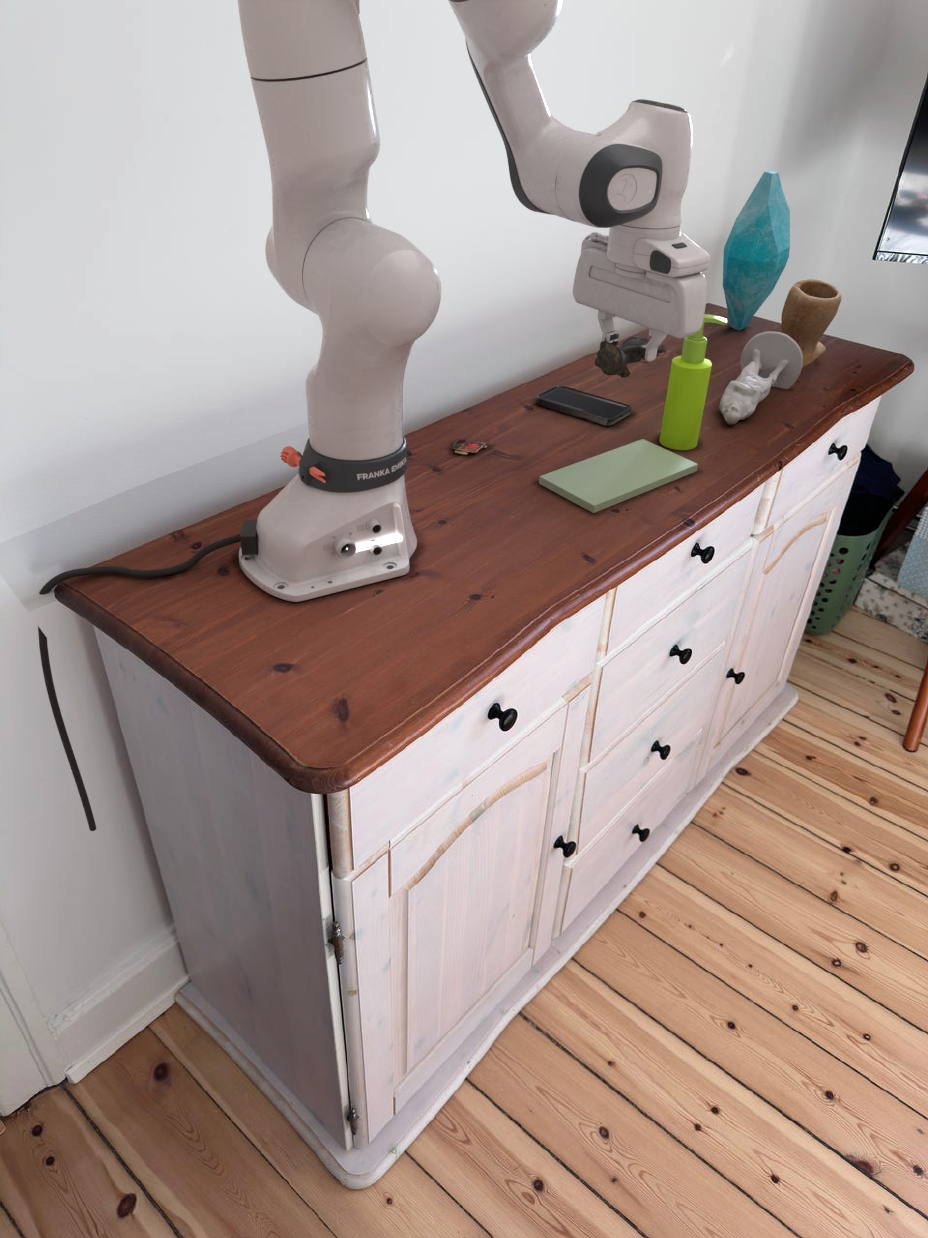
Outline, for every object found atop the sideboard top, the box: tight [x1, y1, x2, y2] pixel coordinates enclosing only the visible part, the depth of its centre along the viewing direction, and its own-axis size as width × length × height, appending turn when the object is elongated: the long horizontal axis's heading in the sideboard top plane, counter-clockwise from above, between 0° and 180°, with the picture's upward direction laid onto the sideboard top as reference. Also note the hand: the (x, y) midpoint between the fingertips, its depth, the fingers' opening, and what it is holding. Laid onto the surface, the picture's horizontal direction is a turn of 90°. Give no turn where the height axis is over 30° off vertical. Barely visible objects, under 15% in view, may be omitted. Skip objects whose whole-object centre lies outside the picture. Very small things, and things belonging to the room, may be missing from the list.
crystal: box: [722, 170, 791, 331], centre depth 186 cm, size 12×14×30 cm
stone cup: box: [780, 278, 842, 368], centre depth 174 cm, size 15×12×15 cm
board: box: [538, 438, 699, 514], centre depth 135 cm, size 22×11×1 cm, turn 129°
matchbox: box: [452, 439, 488, 455], centre depth 142 cm, size 5×5×1 cm
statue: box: [594, 336, 667, 379], centre depth 126 cm, size 6×6×20 cm
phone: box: [535, 385, 633, 427], centre depth 156 cm, size 8×1×15 cm
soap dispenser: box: [659, 313, 728, 451], centre depth 140 cm, size 6×7×20 cm
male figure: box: [719, 330, 803, 425], centre depth 158 cm, size 11×10×25 cm
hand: (628, 352), depth 125 cm, fingers closed on statue, 5 cm apart
